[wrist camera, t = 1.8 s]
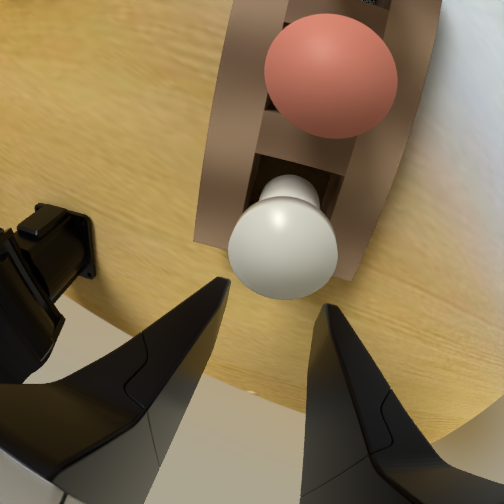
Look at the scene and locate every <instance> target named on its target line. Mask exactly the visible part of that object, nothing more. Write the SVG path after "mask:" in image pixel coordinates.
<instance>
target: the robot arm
mask: <svg viewBox="0 0 504 504" xmlns="http://www.w3.org/2000/svg"><path fill="white" fill-rule="evenodd" d="M83 220H84V221H85V222H84V221H83ZM79 275H80V276H82V277H85V278H88V279H93V278H94V277H95V276H96V271H95V264H94V256H93V247H92V237H91V226H90V219H89V217H88V216H87V215H85V214H81V213H77V212H73V211H70V210H67V209H65V208H61V207H57V206H53V205H49V204H43V203H38V204H36V205H35V213H33V214H32V215H30V216H29V217H28V218H26V219H25V220H24V221H22V222H21V223H20V224H18V226H17V231H16V232H15V233H13V231H12V229H11V228H9V229H7V230H5V231H4V230H3V229H2V228H0V504H144V502H145V499H146V497H147V495H148V493H149V490H150V488H151V486H152V484H153V482H154V480H155V478H156V475H157V473H158V471H159V467H160V466H161V464H162V462H163V460H164V457H165V455H166V453H167V451H168V449H169V446H170V444H171V442H172V440H173V437H174V435H175V433H176V431H177V429H178V426H179V424H180V422H181V420H182V418H183V415H184V413H185V411H186V409H187V407H188V404H189V402H190V400H191V398H192V395H193V393H194V391H195V389H196V387H197V384H198V382H199V380H200V378H201V375H202V373H203V371H204V369H205V367H206V364H207V362H208V360H209V358H210V355H211V353H212V351H213V348H214V345H215V342H216V338H217V335H218V332H219V328H220V325H221V321H222V318H223V314H224V311H225V308H226V304H227V299H228V294H229V289H230V284H231V281H230V279H226V278H223V277H216V278H215V279H213V280H212V281H211V282H209V283H208V284H206V285H205V286H204V287H202V288H201V289H200V290H198V291H197V292H195V293H194V294H193V295H191V296H190V297H188V298H187V299H186V300H184V301H183V302H182V303H180V304H179V305H177V306H176V307H175V308H173V309H172V310H171V311H169V312H168V313H166V314H165V315H164V316H162V317H161V318H160V319H158V320H157V321H155V322H154V323H153V324H151V325H150V326H149V327H147V328H146V329H144V330H143V331H142V333H139V334H137V335H136V336H135V337H133V338H132V339H131V340H129V341H128V342H126V343H125V344H123V345H122V346H120V347H119V348H117V349H115V350H114V351H112V352H110V353H109V354H107V355H105V356H104V357H102V358H100V359H99V360H97V361H95V362H93V363H91V364H89V365H87V366H85V367H84V368H82V369H80V370H78V371H77V372H74V373H73V374H71V375H69V376H67V377H65V378H63V379H61V380H58V381H55V382H51V383H46V384H22V383H23V382H24V381H25V379H27V377H29V376H30V374H32V373H33V372H35V371H37V370H38V369H39V368H40V367H42V366H43V365H44V363H45V362H46V361H47V360H48V358H49V357H50V355H51V352H52V350H53V347H54V345H55V343H56V341H57V338H58V336H59V334H60V331H61V329H62V327H63V325H64V322H65V318H64V316H63V315H62V314H60V312H59V311H58V309H57V308H56V306H55V305H54V303H55V302H56V301H57V300H58V298H59V297H60V296H61V295H62V294H63V293H64V292H65V291H66V289H67V288H68V287H69V286H70V285H71V284H72V283H73V281H74V280H75V279H76V278H77V277H78V276H79ZM300 496H301V498H300V504H504V484H500V483H497V482H494V481H491V480H488V479H484V478H482V477H479V476H476V475H473V474H471V473H468V472H465V471H462V470H459V469H457V468H455V467H452V466H451V465H449V464H447V463H446V462H445V461H443V459H441V458H440V456H439V455H438V454H437V453H436V452H435V450H434V449H433V447H432V446H431V445H430V443H429V442H428V441H427V439H426V438H425V437H424V435H423V434H422V433H421V431H420V430H419V429H418V427H417V426H416V425H415V423H414V422H413V420H412V419H411V418H410V416H409V415H408V414H407V412H406V411H405V409H404V408H403V406H402V404H401V403H400V401H399V400H398V398H397V397H396V395H395V393H394V392H393V390H392V389H390V386H389V384H388V382H387V381H386V379H385V378H384V376H383V375H382V373H381V371H380V370H379V368H378V367H377V365H376V363H375V362H374V360H373V359H372V357H371V356H370V354H369V353H368V351H367V349H366V348H365V346H364V345H363V343H362V342H361V340H360V339H359V337H358V336H357V334H356V333H355V331H354V330H353V328H352V327H351V325H350V324H349V322H348V320H347V319H346V317H345V316H344V314H343V313H342V311H341V310H340V308H339V307H338V306H336V305H332V304H328V303H326V304H324V305H323V307H322V309H321V311H320V313H319V315H318V318H317V320H316V322H315V325H314V329H313V337H312V344H311V351H310V358H309V365H308V373H307V400H306V424H305V442H304V457H303V471H302V485H301V495H300Z"/></svg>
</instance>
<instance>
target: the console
mask: <svg viewBox="0 0 504 504" xmlns="http://www.w3.org/2000/svg"><path fill="white" fill-rule="evenodd" d="M441 3H442V0H376V4H375V5H373V4H370V3H367V2H364V1H361V0H234V1H233V5H232V10H231V14H230V18H229V23H228V27H227V32H226V37H225V41H224V46H223V51H222V56H221V61H220V66H219V71H218V76H217V82H216V87H215V93H214V98H213V104H212V110H211V116H210V122H209V128H208V134H207V140H206V147H205V154H204V160H203V167H202V175H201V182H200V189H199V197H198V205H197V213H196V222H195V231H194V240H193V242H197V243H201V244H205V245H209V246H212V247H216V248H220V249H224V250H228V245H229V240H230V237H231V235H232V232H233V230H234V228H235V226H236V223H237V221H238V220H239V218H240V216H241V215H242V214H243V213H244V212H245V210H247V209H248V208H249V207H250V206H252V205H253V204H255V203H254V202H251V200H252V195H253V191H254V186H255V181H256V177H257V172H258V168H259V163H260V158H261V154H263V155H267V156H271V157H275V158H279V159H283V160H287V161H291V162H295V163H299V164H303V165H306V166H310V167H314V168H317V169H321V170H324V171H328V172H331V176H330V179H329V182H328V185H327V188H326V192H325V195H324V198H323V201H322V204H321V207H320V210H321V211H322V212H323V213H324V214H325V215H326V217H327V218H328V219H329V221H330V222H331V225H332V227H333V229H334V232H335V237H336V244H337V251H338V259H337V265H336V268H335V271H334V273H333V275H332V276H331V277H335V278H339V279H343V280H347V281H352V279H353V277H354V275H355V273H356V270H357V268H358V266H359V264H360V262H361V259H362V257H363V255H364V253H365V250H366V248H367V246H368V243H369V241H370V239H371V236H372V234H373V232H374V229H375V227H376V224H377V222H378V219H379V217H380V215H381V212H382V209H383V207H384V204H385V202H386V199H387V197H388V194H389V191H390V189H391V186H392V183H393V181H394V178H395V175H396V172H397V170H398V167H399V164H400V161H401V158H402V155H403V152H404V149H405V146H406V143H407V140H408V137H409V134H410V131H411V128H412V125H413V121H414V118H415V115H416V111H417V108H418V104H419V101H420V97H421V94H422V90H423V86H424V83H425V79H426V75H427V71H428V67H429V63H430V58H431V54H432V50H433V45H434V41H435V36H436V31H437V26H438V20H439V15H440V9H441ZM315 14H337V15H342V16H346V17H349V18H352V19H355V20H357V21H359V22H361V23H363V24H364V25H366V26H367V27H369V28H370V29H371V30H373V31H374V32H375V33H376V34H377V35H378V36H379V37H380V38H381V39H382V40H383V41H384V43H385V44H386V46H387V47H388V49H389V51H390V53H391V54H392V57H393V59H394V62H395V65H396V70H397V78H398V83H397V92H396V97H395V99H394V102H393V105H392V107H391V108H390V110H389V112H388V113H387V115H386V116H385V117H384V118H383V119H382V120H381V122H380V123H378V124H377V125H376V126H375V127H373V128H372V129H370V130H368V131H367V132H365V133H362V134H360V135H357V136H353V137H349V138H343V139H331V138H323V137H318V136H315V135H312V134H309V133H307V132H305V131H303V130H301V129H299V128H297V127H296V126H294V125H293V124H292V123H290V122H289V121H288V120H287V119H286V118H285V117H284V116H283V115H282V114H281V113H280V112H279V111H278V109H277V108H276V107H275V105H274V104H273V102H272V100H271V98H270V95H269V93H268V90H267V87H266V83H265V76H264V67H265V60H266V56H267V53H268V50H269V48H270V46H271V44H272V42H273V41H274V39H275V38H276V36H277V35H278V34H279V33H280V32H281V31H282V30H283V29H284V28H285V27H287V26H288V25H289V24H291V23H293V22H294V21H296V20H299V19H301V18H303V17H307V16H310V15H315Z"/></svg>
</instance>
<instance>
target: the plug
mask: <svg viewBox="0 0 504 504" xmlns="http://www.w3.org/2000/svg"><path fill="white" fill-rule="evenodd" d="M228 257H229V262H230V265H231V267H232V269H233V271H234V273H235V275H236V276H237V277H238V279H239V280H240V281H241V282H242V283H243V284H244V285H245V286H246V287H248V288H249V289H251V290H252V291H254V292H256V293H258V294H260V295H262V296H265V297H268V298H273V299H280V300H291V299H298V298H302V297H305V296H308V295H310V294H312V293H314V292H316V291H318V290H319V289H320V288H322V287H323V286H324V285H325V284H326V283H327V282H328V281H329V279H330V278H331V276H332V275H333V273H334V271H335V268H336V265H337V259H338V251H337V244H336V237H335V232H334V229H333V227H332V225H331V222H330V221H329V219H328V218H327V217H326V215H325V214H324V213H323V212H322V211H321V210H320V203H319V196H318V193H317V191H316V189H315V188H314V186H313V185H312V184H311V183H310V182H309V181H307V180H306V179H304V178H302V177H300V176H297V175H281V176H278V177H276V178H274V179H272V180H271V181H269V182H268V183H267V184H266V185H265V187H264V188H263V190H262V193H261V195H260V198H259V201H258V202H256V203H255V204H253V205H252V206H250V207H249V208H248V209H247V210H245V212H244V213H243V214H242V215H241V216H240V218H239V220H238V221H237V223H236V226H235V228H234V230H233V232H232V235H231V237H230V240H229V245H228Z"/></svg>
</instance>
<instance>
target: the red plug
mask: <svg viewBox="0 0 504 504" xmlns="http://www.w3.org/2000/svg"><path fill="white" fill-rule="evenodd" d="M264 76H265V83H266V87H267V90H268V93H269V95H270V98H271V100H272V102H273V103H274V105H275V107H276V108H277V109H278V111H279V112H280V113H281V114H282V115H283V116H284V117H285V118H286V119H287V120H288V121H289V122H290V123H292V124H293V125H294V126H296V127H297V128H299V129H301V130H303V131H305V132H307V133H309V134H312V135H315V136H318V137H323V138H331V139H343V138H349V137H353V136H357V135H360V134H362V133H365V132H367V131H368V130H370V129H372V128H373V127H375V126H376V125H377V124H378V123H380V122H381V120H382V119H383V118H384V117H385V116H386V115H387V113H388V112H389V110H390V108H391V107H392V105H393V102H394V99H395V97H396V92H397V83H398V78H397V70H396V65H395V62H394V59H393V57H392V54H391V53H390V51H389V49H388V47H387V46H386V44H385V43H384V41H383V40H382V39H381V38H380V37H379V36H378V35H377V34H376V33H375V32H374V31H373V30H371V29H370V28H369V27H367V26H366V25H364V24H363V23H361V22H359V21H357V20H355V19H352V18H349V17H346V16H342V15H337V14H315V15H310V16H307V17H303V18H301V19H299V20H296V21H294V22H293V23H291V24H289V25H288V26H287V27H285V28H284V29H283V30H282V31H281V32H280V33H279V34H278V35H277V36H276V38H275V39H274V41H273V42H272V44H271V46H270V48H269V50H268V53H267V56H266V60H265V67H264Z"/></svg>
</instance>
